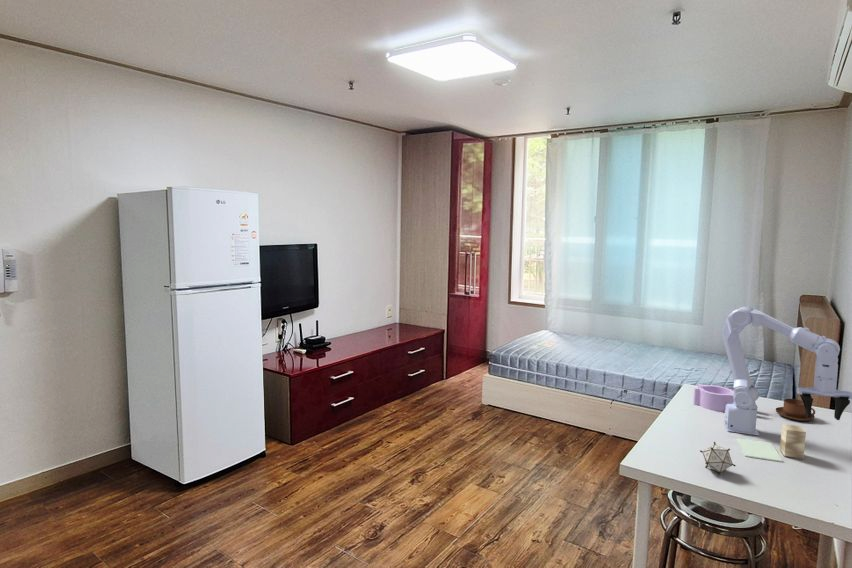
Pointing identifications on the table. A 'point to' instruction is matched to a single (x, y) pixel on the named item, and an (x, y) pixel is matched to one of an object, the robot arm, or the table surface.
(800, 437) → the maple block
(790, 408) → the cup and saucer
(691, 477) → the table surface
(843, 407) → the robot arm
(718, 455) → the game die
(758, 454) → the mat
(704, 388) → the clip
